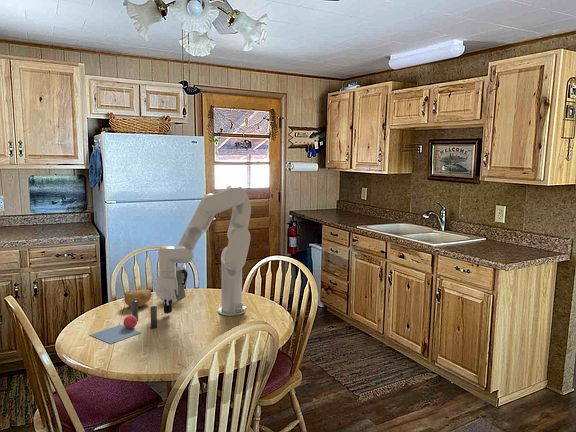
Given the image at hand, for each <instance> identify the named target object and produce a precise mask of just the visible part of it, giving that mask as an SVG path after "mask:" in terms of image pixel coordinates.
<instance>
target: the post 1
mask: <svg viewBox="0 0 576 432" xmlns="http://www.w3.org/2000/svg"><path fill="white" fill-rule="evenodd" d="M131 315H133V316H135V317H136V318H137V322H139V307H138V300H133V301H132V307H131Z"/></svg>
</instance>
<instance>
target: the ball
mask: <svg viewBox="0 0 576 432" xmlns="http://www.w3.org/2000/svg"><path fill="white" fill-rule="evenodd" d="M137 325H138V321H137V318H136V317H135V316H133V315H132V314H129V315H126V316H125V317H124V319H123V326H125V327H126V328H128V329H134V328H135V327H136V326H137Z"/></svg>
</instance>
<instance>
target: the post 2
mask: <svg viewBox="0 0 576 432" xmlns="http://www.w3.org/2000/svg"><path fill="white" fill-rule="evenodd" d="M149 311H150V312H149V313H150V329H152V330H153V329H157V328H158V307H157V306H156V305H151V306H150V310H149Z"/></svg>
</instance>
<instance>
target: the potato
mask: <svg viewBox="0 0 576 432" xmlns="http://www.w3.org/2000/svg"><path fill="white" fill-rule="evenodd" d="M151 298H152V291H151V290H150V289H147V288H146V289H145V288H143V289H142V288H141V289H137V290H133V291H130V292H126V294H125V295H124V298H123V300H124V303H125V304H126V306H127V307H131V308H132V301H133V300H138V308H141V307H143V306H145V305H146V304H147V303H148V302H149V301H150V299H151Z"/></svg>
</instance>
